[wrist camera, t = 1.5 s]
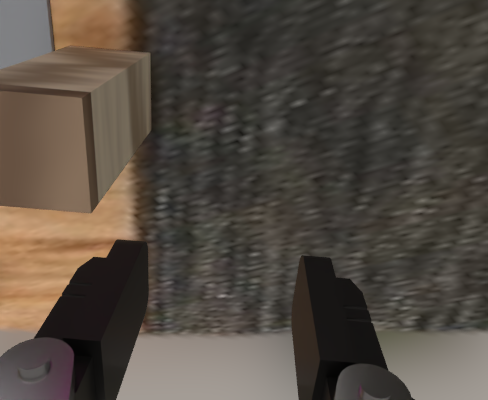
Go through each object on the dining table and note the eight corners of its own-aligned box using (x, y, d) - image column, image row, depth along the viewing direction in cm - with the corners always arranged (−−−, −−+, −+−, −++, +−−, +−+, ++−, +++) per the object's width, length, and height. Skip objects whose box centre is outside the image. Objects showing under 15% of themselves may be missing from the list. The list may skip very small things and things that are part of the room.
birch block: (150, 52, 28) (81, 97, 17) (151, 130, 30) (91, 213, 19) (70, 45, 28) (-50, 86, 17) (77, 123, 30) (-25, 203, 19)
